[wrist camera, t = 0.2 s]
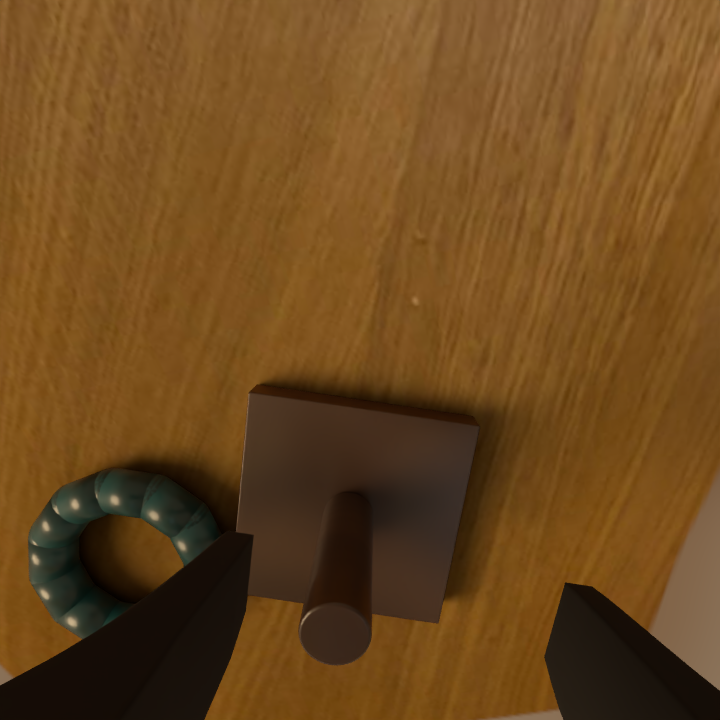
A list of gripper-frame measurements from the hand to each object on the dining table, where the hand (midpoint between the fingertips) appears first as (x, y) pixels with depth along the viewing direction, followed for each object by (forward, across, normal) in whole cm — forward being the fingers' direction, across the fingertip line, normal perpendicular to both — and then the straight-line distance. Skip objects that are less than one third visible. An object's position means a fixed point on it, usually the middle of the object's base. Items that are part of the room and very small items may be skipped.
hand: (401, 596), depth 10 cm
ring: (+8, +10, +7) cm, 14 cm away
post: (+8, +1, +3) cm, 9 cm away
